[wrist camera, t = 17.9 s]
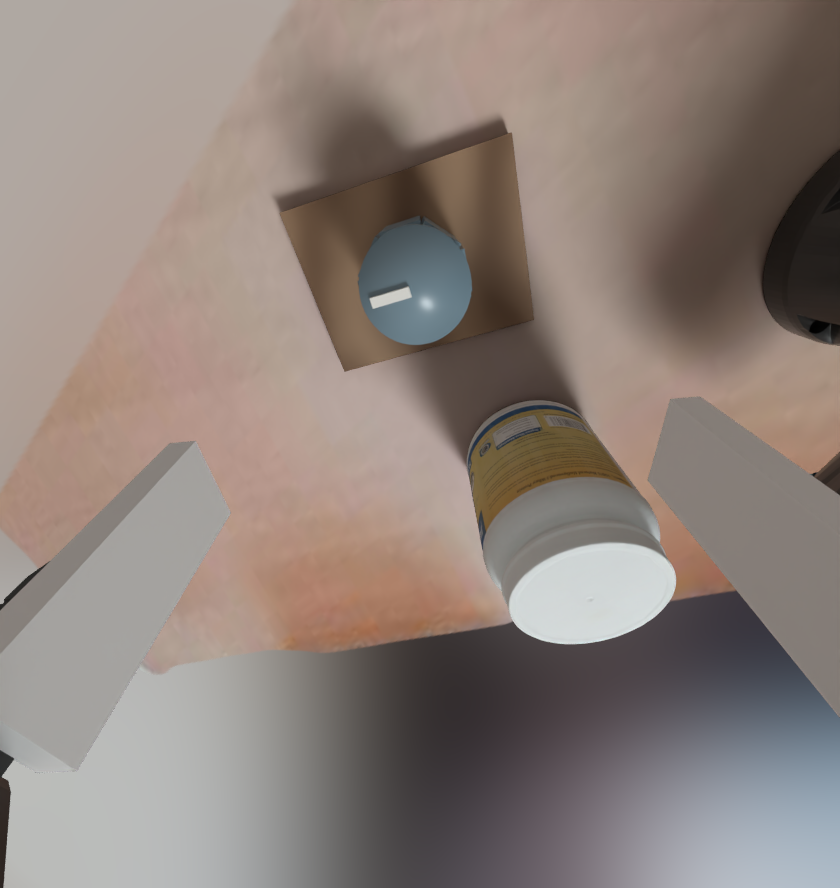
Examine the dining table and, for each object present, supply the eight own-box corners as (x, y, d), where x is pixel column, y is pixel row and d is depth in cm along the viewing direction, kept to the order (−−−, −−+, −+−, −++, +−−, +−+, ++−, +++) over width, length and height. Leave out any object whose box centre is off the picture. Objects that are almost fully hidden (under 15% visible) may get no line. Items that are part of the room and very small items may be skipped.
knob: (449, 205, 26) (458, 208, 20) (468, 302, 30) (482, 330, 23) (358, 235, 27) (340, 246, 21) (387, 326, 31) (379, 358, 24)
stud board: (508, 134, 25) (529, 120, 20) (530, 316, 31) (550, 337, 27) (283, 212, 27) (256, 215, 23) (346, 367, 33) (334, 394, 29)
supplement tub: (439, 453, 38) (452, 603, 24) (537, 367, 34) (624, 493, 19) (517, 514, 43) (566, 671, 29) (613, 447, 38) (729, 596, 24)
